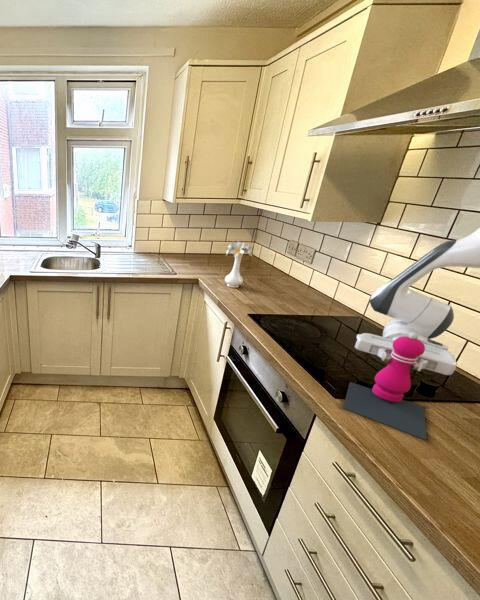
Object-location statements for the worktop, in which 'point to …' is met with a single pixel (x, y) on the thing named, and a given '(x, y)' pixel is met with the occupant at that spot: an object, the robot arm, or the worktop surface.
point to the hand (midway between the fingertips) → (401, 363)
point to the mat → (386, 410)
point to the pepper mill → (398, 369)
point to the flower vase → (236, 262)
